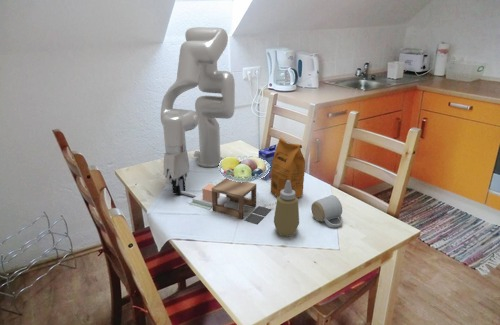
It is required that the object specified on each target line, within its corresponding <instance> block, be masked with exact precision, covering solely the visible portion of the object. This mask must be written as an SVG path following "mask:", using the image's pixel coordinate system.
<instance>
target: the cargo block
mask: <svg viewBox="0 0 500 325" xmlns="http://www.w3.org/2000/svg"><path fill="white" fill-rule="evenodd" d="M216 185H217V184H211V183H208V184H207V185H205V186H204V187H202V189H201V192H202V194H203V200H206V201H210V202H212V188H213V187H214V186H216ZM220 194H221V193H218V192H217V199H218V198H219V197H220V196H221V195H220Z"/></svg>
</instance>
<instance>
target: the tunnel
mask: <svg viewBox="0 0 500 325" xmlns="http://www.w3.org/2000/svg"><path fill="white" fill-rule="evenodd" d="M215 185H216V186H214V187H213V188H212V206H213V207H212V212H215V213H218V214H222V215H225V216H229V217H232V218H236V219H239V220H244V218H245V206H247V207H250V208H255V209H256V208H257V183H254V182H251V181H250V182H249V181H246V182H242V183H241V182H236V181H232V180H229V179H227V177H226V178H224V179H222V181H220V182H218V183H217V184H215ZM217 192H218V193H220V194H223V195H225V197H228V198H230V202H231V201H232V203H234V204H235V203H236V204H238V209H236V208H232V207H229V206H226V205H225V206H222V205H218V200H217ZM249 193H250V195H251V196H250V197H251V198H250V197H246V196H248V194H249Z"/></svg>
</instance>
